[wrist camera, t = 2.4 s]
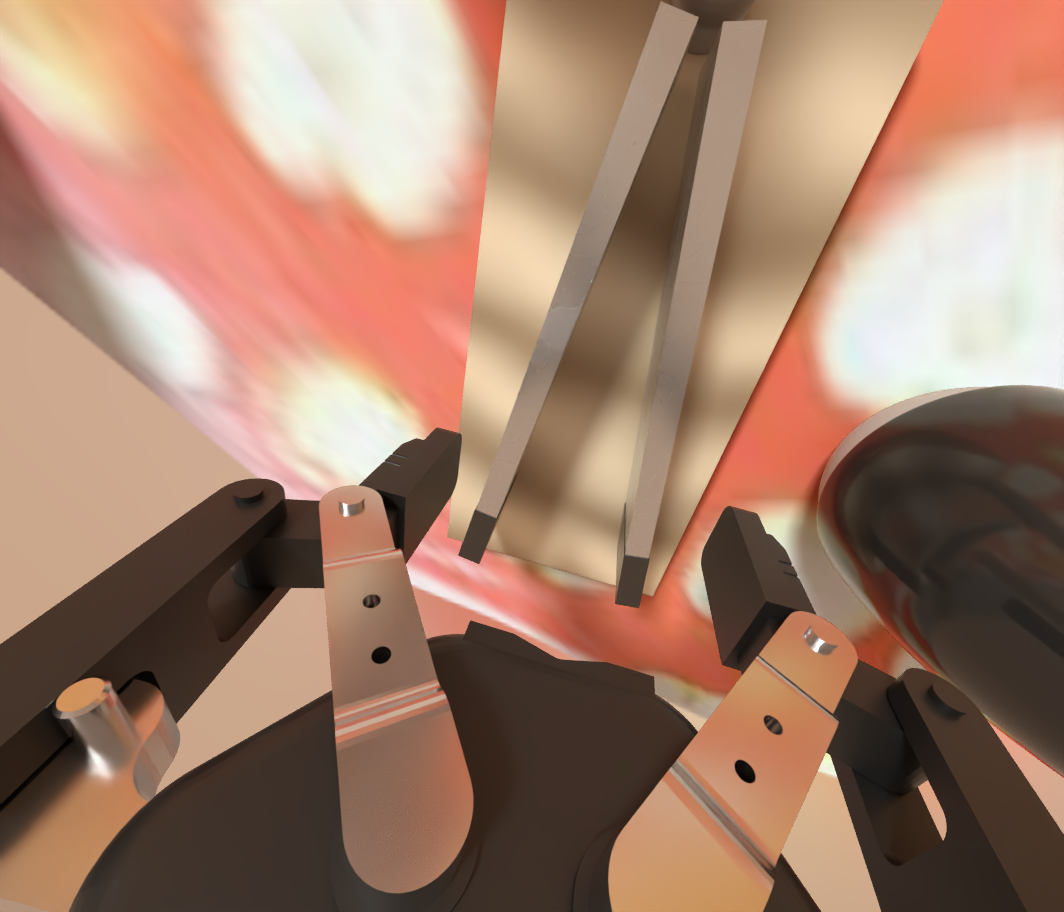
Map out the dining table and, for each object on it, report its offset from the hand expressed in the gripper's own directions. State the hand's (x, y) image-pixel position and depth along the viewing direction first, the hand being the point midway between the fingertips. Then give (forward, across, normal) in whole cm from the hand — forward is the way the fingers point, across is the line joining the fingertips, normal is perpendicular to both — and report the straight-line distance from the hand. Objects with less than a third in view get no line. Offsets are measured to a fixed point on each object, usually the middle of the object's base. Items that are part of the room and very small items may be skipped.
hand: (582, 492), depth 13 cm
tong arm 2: (+8, -2, -2) cm, 8 cm away
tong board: (+10, 0, -2) cm, 10 cm away
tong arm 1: (+8, +2, -2) cm, 9 cm away
